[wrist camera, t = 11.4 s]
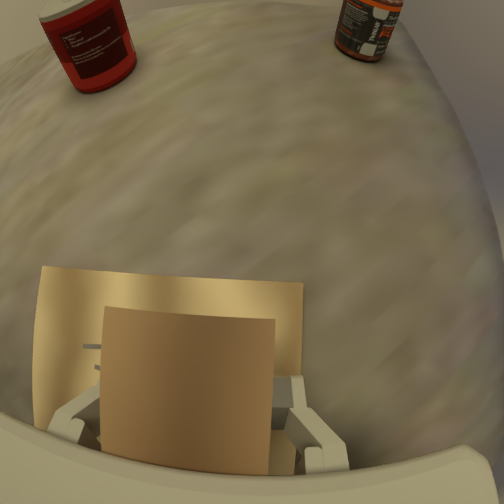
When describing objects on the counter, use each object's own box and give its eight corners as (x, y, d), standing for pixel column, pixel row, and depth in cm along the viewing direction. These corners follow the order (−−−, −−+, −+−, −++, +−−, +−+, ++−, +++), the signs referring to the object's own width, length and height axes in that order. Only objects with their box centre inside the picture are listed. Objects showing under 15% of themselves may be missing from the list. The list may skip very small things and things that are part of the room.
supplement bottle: (378, 70, 26) (409, -12, 15) (327, 49, 26) (345, -36, 16) (385, 49, 27) (412, -22, 16) (340, 31, 28) (357, -43, 17)
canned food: (101, 51, 27) (76, -17, 16) (152, 53, 26) (131, -28, 15) (61, 92, 25) (22, 23, 14) (110, 98, 24) (71, 10, 13)
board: (43, 424, 15) (34, 426, 14) (51, 269, 19) (42, 265, 18) (291, 467, 15) (294, 475, 14) (299, 286, 19) (303, 282, 18)
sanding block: (171, 424, 15) (104, 485, 6) (175, 326, 17) (104, 305, 8) (257, 431, 15) (265, 510, 6) (262, 331, 17) (275, 318, 8)
